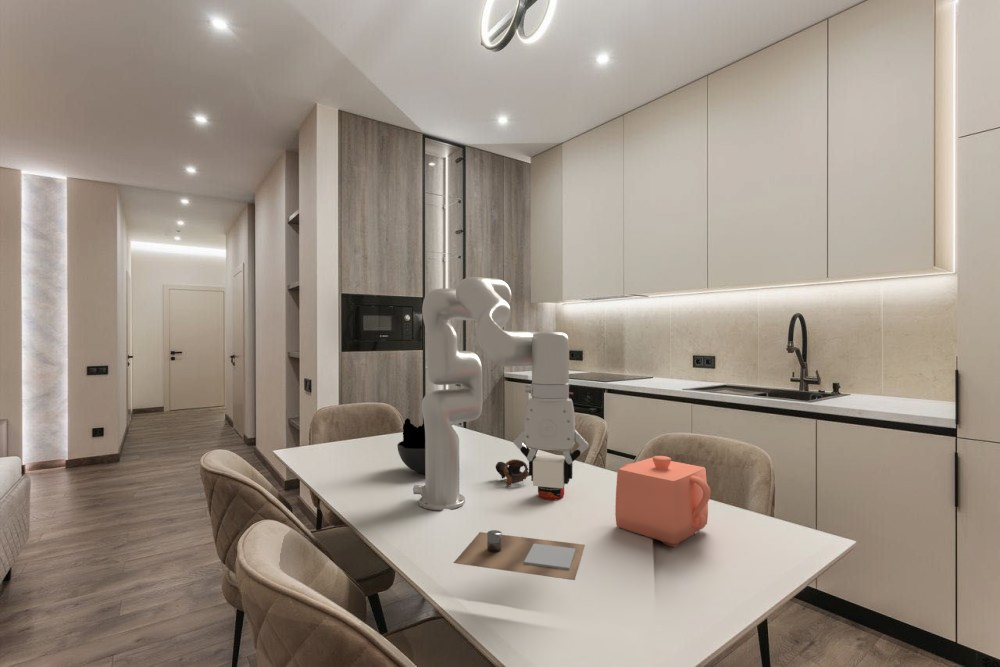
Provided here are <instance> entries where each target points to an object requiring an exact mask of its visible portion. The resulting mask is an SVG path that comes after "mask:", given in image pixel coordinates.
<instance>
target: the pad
mask: <svg viewBox="0 0 1000 667" xmlns="http://www.w3.org/2000/svg"><path fill="white" fill-rule="evenodd" d="M575 552H576V549H575V548H567V547H559V546H550V545H542V544H533V546H532V548H531V550H530V552H529V553H528V555H527V557H526V559H525V561H524V564H529V565H536V566H544V567H551V568H558V569H566V570H570V567H571V564H572V561H573V558H574V555H575Z"/></svg>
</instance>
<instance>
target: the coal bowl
mask: <svg viewBox="0 0 1000 667" xmlns="http://www.w3.org/2000/svg"><path fill="white" fill-rule="evenodd" d="M402 438H403V439H402V441H399V442H398V443H397V445H396V446H397V451H398V455H399V458H400V459H401V460H402V463H404V465H405V466H406V467H408V468H409V469H410V470H412V471H414V472H417V473H420V474H425V425H424V422H423V423H422V425H418V426H415V425H414V424H413V423H411V419H410V418H408V417H407V418H406V419H405V420H404V423H403V425H402Z"/></svg>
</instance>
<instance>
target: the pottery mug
mask: <svg viewBox="0 0 1000 667" xmlns="http://www.w3.org/2000/svg"><path fill="white" fill-rule="evenodd" d="M523 467H524V470H523V471H521V468H523ZM495 470H496V471H497V473H498V474H499V475H500V477H501V480H502V479H504V478H506V479H505V483H504V484H505V485H506V486H508V485H510V486H511V485H512V484H517V483H521V482H524V480H526V479H527V478H528V477H530V476H529V467H528V465H527V463H526V462H524V461H523V460H521V459H515V458H514V459H513V458H512V459H510V460H508V461H507V462H506V463H505V462H503V461H498V462H497V463H496V464H495Z"/></svg>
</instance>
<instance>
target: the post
mask: <svg viewBox="0 0 1000 667" xmlns="http://www.w3.org/2000/svg"><path fill="white" fill-rule="evenodd" d="M486 533H487V550H488V551H489V552H491V553H497V552H500V551H501V550H502V535H503V534H502V531H500V530H498V529H495V530H494V529H493V530H489V531H487V532H486Z"/></svg>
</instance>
